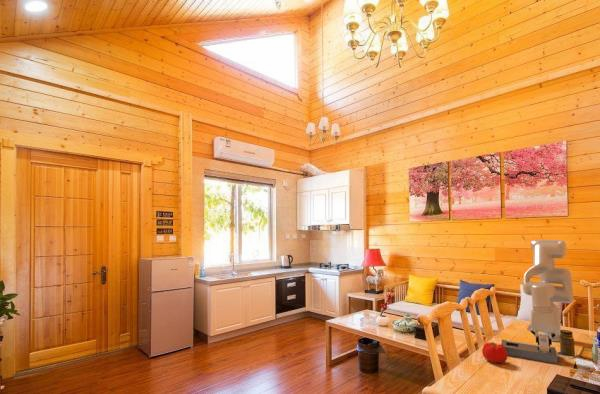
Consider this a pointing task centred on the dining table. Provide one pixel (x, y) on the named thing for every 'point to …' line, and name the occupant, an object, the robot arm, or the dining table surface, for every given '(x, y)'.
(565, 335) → the condiment
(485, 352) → the tomato
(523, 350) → the panel
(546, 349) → the plug
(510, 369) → the dining table surface
